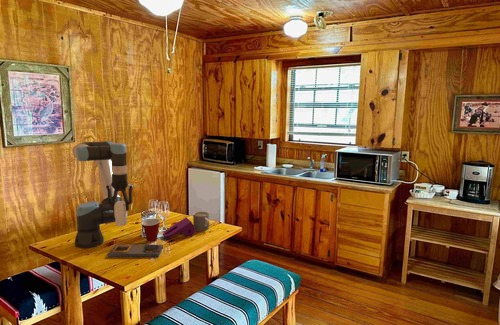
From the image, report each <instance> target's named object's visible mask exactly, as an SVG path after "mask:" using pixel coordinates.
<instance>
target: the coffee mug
mask: <svg viewBox="0 0 500 325" xmlns="http://www.w3.org/2000/svg"><path fill="white" fill-rule="evenodd" d="M192 217H193V218H192V224H193V226H194V228H195V232H206V231H207V230H209V227H210V220H209V219H210V213H209V212H207V211H196V212H193V214H192Z"/></svg>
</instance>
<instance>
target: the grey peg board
mask: <svg viewBox="0 0 500 325" xmlns="http://www.w3.org/2000/svg"><path fill="white" fill-rule="evenodd" d="M163 249H164V244H115V245H114V246H113V247H112V248H111V250H110V251H109V252H108V253H107V258H159V257H160V255H161V253H162V251H163Z"/></svg>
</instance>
